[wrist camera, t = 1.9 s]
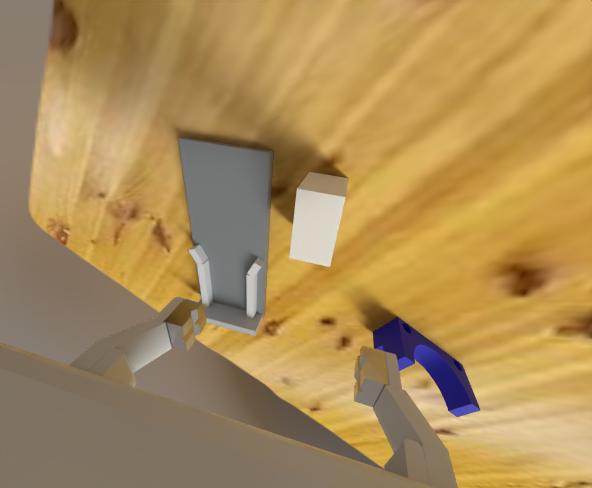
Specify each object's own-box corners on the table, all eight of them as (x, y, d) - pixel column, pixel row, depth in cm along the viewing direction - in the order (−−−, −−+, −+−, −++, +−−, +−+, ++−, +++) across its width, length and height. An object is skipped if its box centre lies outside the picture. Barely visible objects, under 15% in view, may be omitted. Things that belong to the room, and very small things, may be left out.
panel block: (309, 171, 25) (296, 188, 19) (348, 178, 24) (345, 197, 19) (302, 230, 28) (289, 258, 23) (335, 237, 28) (329, 266, 23)
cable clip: (372, 331, 34) (375, 371, 29) (397, 316, 31) (405, 356, 26) (433, 375, 35) (446, 420, 30) (461, 363, 33) (480, 410, 28)
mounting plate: (185, 137, 26) (157, 141, 22) (273, 150, 24) (258, 158, 21) (206, 298, 38) (190, 318, 35) (265, 313, 37) (254, 335, 33)
